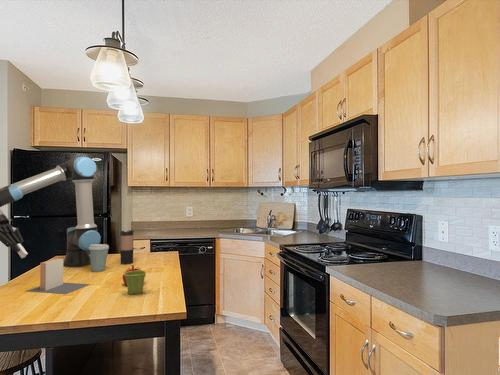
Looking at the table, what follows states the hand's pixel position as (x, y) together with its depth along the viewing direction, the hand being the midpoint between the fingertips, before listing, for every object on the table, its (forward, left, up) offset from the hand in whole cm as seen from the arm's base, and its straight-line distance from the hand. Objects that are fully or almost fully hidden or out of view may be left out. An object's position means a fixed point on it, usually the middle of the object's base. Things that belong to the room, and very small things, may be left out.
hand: (24, 255), depth 156 cm
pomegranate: (+27, +42, -15) cm, 52 cm away
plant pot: (+41, +38, -15) cm, 57 cm away
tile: (+11, +10, -14) cm, 20 cm away
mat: (+14, +12, -14) cm, 24 cm away
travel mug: (-24, +55, -15) cm, 61 cm away
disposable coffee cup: (-13, +36, -15) cm, 41 cm away
